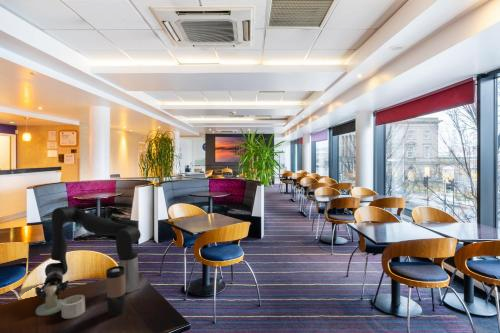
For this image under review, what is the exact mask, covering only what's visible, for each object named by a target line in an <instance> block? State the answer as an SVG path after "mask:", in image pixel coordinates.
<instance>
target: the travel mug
mask: <svg viewBox="0 0 500 333" xmlns="http://www.w3.org/2000/svg"><path fill="white" fill-rule="evenodd" d="M105 273H106V276H105V277H106V302H107V314H108V316H109V315H110V317H117V316H120V315H123V314H124V313H125V311H126V293H125V272H124V267H123V266H119V265H116V266H112V267H109V268H107V269H106V271H105Z"/></svg>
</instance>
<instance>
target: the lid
mask: <svg viewBox="0 0 500 333" xmlns="http://www.w3.org/2000/svg"><path fill="white" fill-rule="evenodd" d="M56 289H57V286H56V285H53V286H49V287H46V288H45V298H44V300H45V302H44V303H42V304H40V305H39V306H38V307H36V309H35V314H36V315H37V316H42V317H44V316H50V315H54V314H56V313H58V312H61V302H62V301H63V300H64V299H61V298H59V299H58V295H57V296H56Z"/></svg>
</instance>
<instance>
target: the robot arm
mask: <svg viewBox="0 0 500 333" xmlns="http://www.w3.org/2000/svg"><path fill="white" fill-rule="evenodd" d="M68 223H76V224H79V225H81V226H82V228H83V229H84V230H85V232H86V231H87V232H88V233H92V234H94V235H97V236H98V235H99V236H115V245H116V253H117V256H118V266H123V267H124V272H125V294H127V293H128V294H129V293H132V292H136V291H137V290H139V289H140V270H139V262H138V261H139V259H138V258H139V253H138V250H136V249H134V248H133V244H135V243H136V242H137V241H139V240H140V239H141V236H142V234H141V231H140V229H139V228H138V227H136V226H133V225H129V224H125V223H120V222H116V221H114V220H111V219H107V218H106V217H105V218H104V217H102V216H99V215H96V214H92V213H89V212H85V211H83V210H81V209H78V208H76V207H75V206H72V205H70V206H69V205H68V206H61V207H56V208H54V209H53V211H52V213H51V234H52V246H51V251H50V252H51V253H50V259H51V260H52V261H57V262H51V263H48V264H47V265H46V267H45V270H44V275H45V276H46V277H45V280H44V283H43V285H42V286H41V287H39V286H36V287H35V288H34V289H35V295H36V296H37V297H40V298H41V299H43V300H45V288H46V287H49V286H53V285H56V286H57V289H56V296H57V297H58V296H59V295H60V294H61V291H62V292H64V291H66V290H67V289H68V287H69V286H70V281H69V280H66V281H64V282H63V280H64V275H66V274H67V272H68V270H69V269H68V268H69V267H68V263H67V262H68V261H67V250H68V241H67V239H66V237H65V235H64V233H63V232H64V231H63V229H64V228H63V227H64V224H68Z"/></svg>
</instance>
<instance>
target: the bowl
mask: <svg viewBox="0 0 500 333" xmlns="http://www.w3.org/2000/svg"><path fill="white" fill-rule="evenodd" d="M85 296H86V295H83V294H74V295H71V296H68V297H66V298H64V299H63V301H62V302H61V311H60V312H61V318H63V319H69V320H70V319H73V318H76V317H79V316H80V315H81V316H82V315H83V314H84V313H85V312H86V298H85Z"/></svg>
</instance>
